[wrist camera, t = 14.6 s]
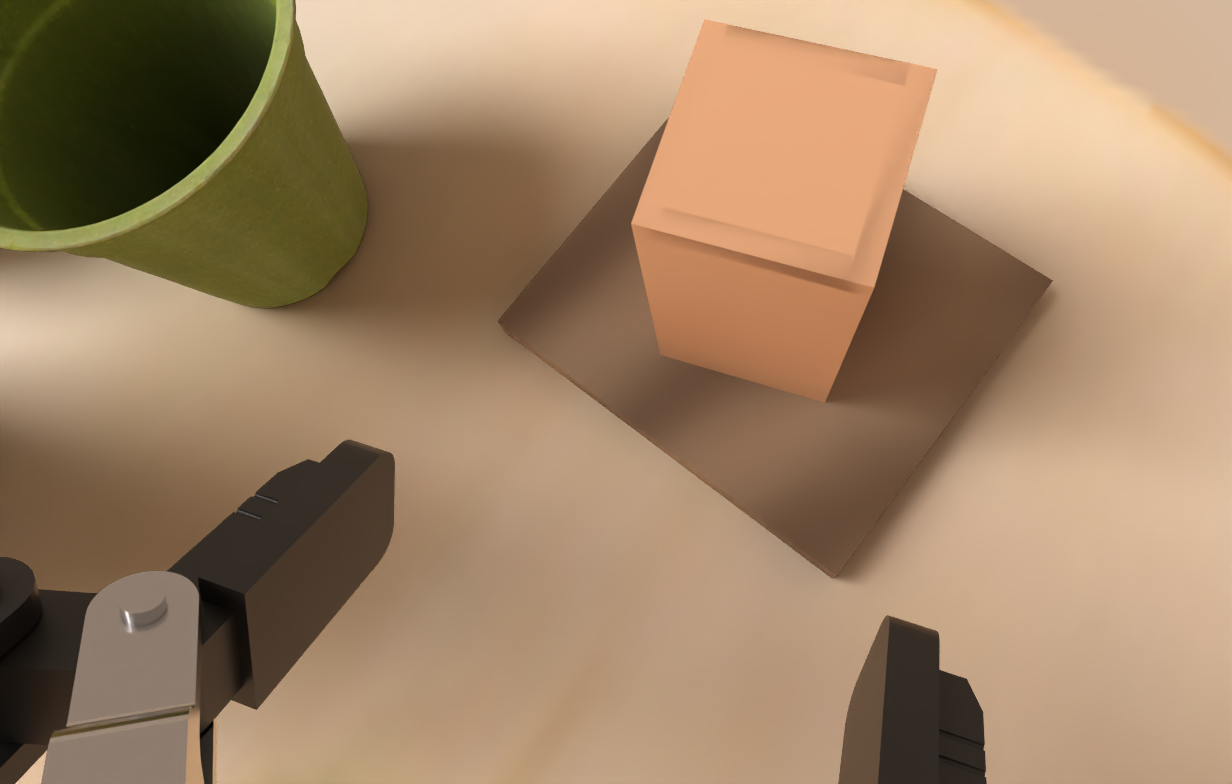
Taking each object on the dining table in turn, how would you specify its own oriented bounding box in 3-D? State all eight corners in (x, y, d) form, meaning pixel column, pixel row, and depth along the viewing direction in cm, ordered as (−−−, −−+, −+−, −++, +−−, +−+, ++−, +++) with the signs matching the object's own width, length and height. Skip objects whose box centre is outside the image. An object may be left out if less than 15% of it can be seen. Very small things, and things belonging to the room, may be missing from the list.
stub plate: (506, 332, 32) (461, 270, 27) (708, 89, 34) (705, -16, 29) (832, 578, 29) (857, 564, 23) (1040, 294, 30) (1109, 219, 25)
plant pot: (94, 182, 36) (-175, -12, 25) (354, 41, 36) (199, -210, 26) (195, 432, 33) (-64, 330, 22) (481, 273, 33) (364, 97, 22)
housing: (660, 355, 30) (631, 223, 21) (710, 208, 31) (704, 19, 22) (824, 402, 29) (874, 287, 20) (869, 248, 30) (937, 69, 21)
